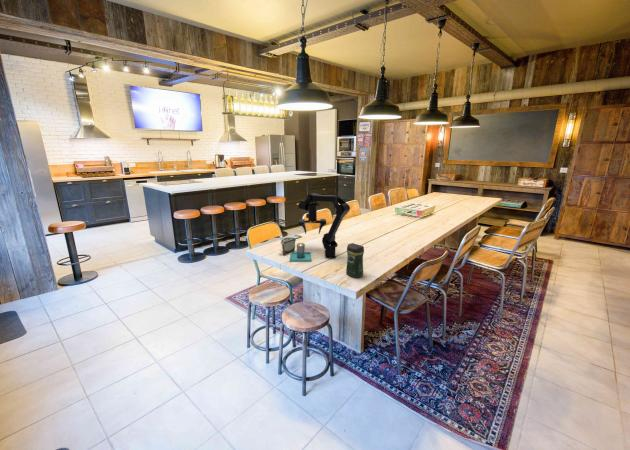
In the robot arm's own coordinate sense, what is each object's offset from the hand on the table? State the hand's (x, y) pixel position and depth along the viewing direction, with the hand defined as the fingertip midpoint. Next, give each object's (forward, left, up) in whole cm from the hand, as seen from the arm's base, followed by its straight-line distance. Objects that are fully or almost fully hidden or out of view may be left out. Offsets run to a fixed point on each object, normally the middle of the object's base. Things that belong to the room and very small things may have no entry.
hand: (312, 233), depth 204 cm
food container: (+18, +2, -13) cm, 22 cm away
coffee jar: (-24, +39, -13) cm, 48 cm away
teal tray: (+8, +12, -13) cm, 19 cm away
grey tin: (+8, +12, -12) cm, 19 cm away
